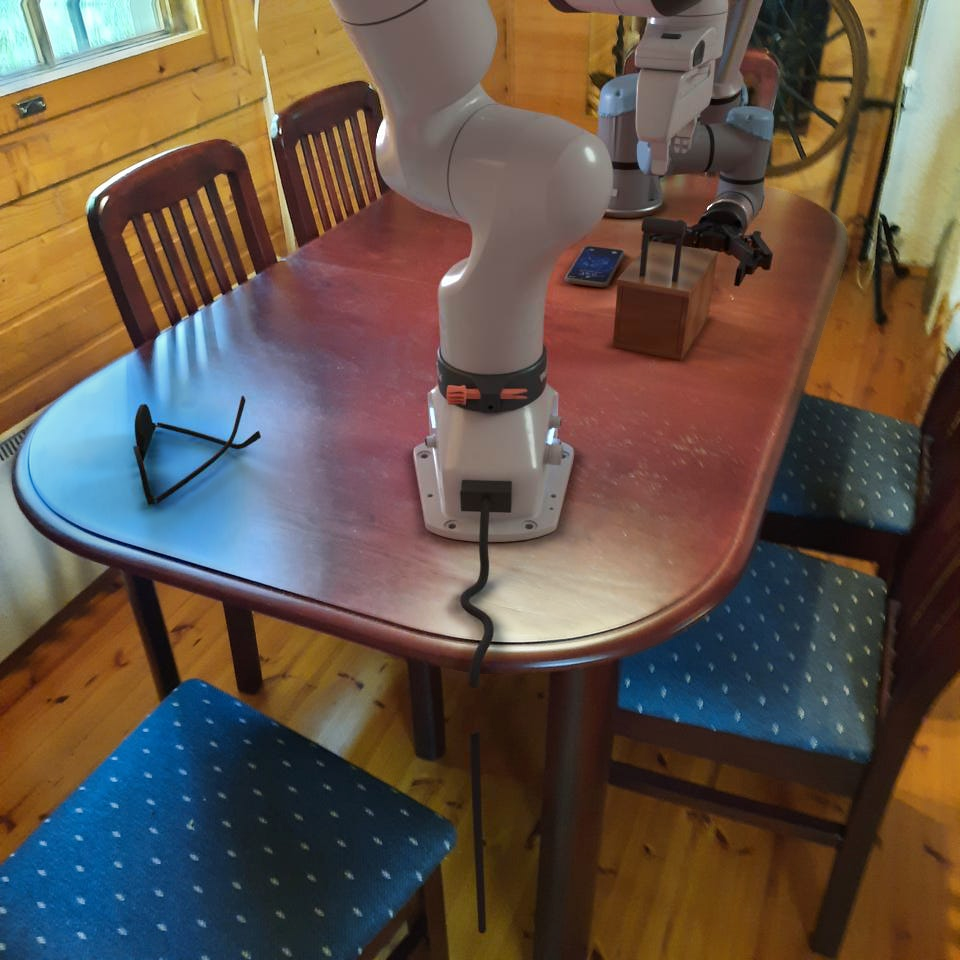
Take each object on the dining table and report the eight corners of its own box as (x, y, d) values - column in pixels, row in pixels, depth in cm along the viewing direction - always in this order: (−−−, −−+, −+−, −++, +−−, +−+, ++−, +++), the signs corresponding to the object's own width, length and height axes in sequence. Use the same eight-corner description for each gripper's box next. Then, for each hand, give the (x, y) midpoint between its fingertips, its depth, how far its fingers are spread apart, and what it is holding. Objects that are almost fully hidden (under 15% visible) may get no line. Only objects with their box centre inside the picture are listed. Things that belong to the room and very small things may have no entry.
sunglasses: (270, 486, 97) (262, 449, 94) (137, 510, 94) (125, 474, 91) (257, 411, 110) (250, 377, 107) (140, 430, 107) (130, 396, 104)
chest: (680, 360, 118) (689, 297, 113) (612, 346, 122) (617, 284, 116) (708, 317, 129) (717, 257, 123) (644, 306, 132) (650, 247, 127)
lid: (688, 298, 112) (697, 232, 107) (616, 285, 116) (621, 220, 111) (717, 257, 123) (726, 195, 118) (650, 246, 127) (656, 186, 121)
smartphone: (626, 249, 148) (607, 284, 137) (625, 255, 149) (607, 289, 137) (584, 244, 150) (562, 278, 139) (584, 249, 151) (562, 283, 139)
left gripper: (683, 22, 107) (670, 138, 115) (629, 53, 92) (620, 182, 100) (733, 25, 104) (717, 143, 113) (687, 57, 90) (672, 189, 98)
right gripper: (797, 255, 140) (773, 307, 125) (649, 234, 149) (610, 280, 134) (807, 210, 136) (782, 258, 120) (654, 191, 145) (613, 233, 129)
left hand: (671, 162), depth 106 cm, fingers open, 8 cm apart
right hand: (691, 270), depth 127 cm, fingers open, 13 cm apart
